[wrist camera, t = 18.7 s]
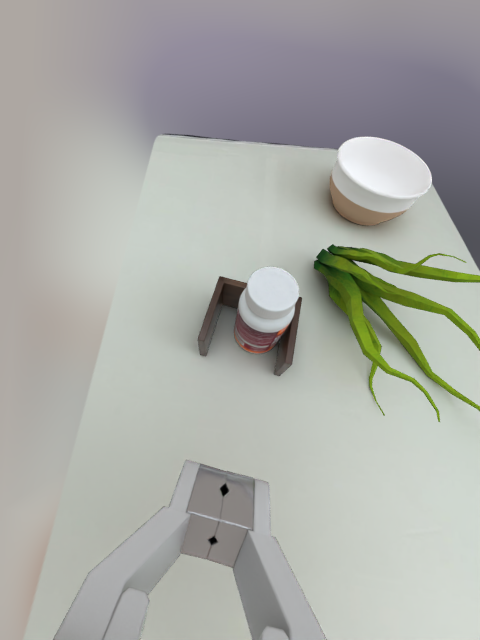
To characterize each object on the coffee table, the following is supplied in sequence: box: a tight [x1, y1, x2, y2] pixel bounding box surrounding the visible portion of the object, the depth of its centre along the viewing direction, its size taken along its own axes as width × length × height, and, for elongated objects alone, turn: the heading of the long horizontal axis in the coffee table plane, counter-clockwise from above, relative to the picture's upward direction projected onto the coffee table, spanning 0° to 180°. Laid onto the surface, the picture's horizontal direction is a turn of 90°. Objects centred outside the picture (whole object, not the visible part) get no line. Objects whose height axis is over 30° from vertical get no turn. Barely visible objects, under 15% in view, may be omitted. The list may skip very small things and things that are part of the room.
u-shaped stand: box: [198, 276, 302, 376], centre depth 31 cm, size 11×9×6 cm
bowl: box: [330, 137, 432, 226], centre depth 44 cm, size 16×16×8 cm
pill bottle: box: [234, 267, 299, 354], centre depth 28 cm, size 6×6×11 cm
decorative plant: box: [314, 244, 480, 422], centre depth 28 cm, size 18×30×15 cm, turn 6°
